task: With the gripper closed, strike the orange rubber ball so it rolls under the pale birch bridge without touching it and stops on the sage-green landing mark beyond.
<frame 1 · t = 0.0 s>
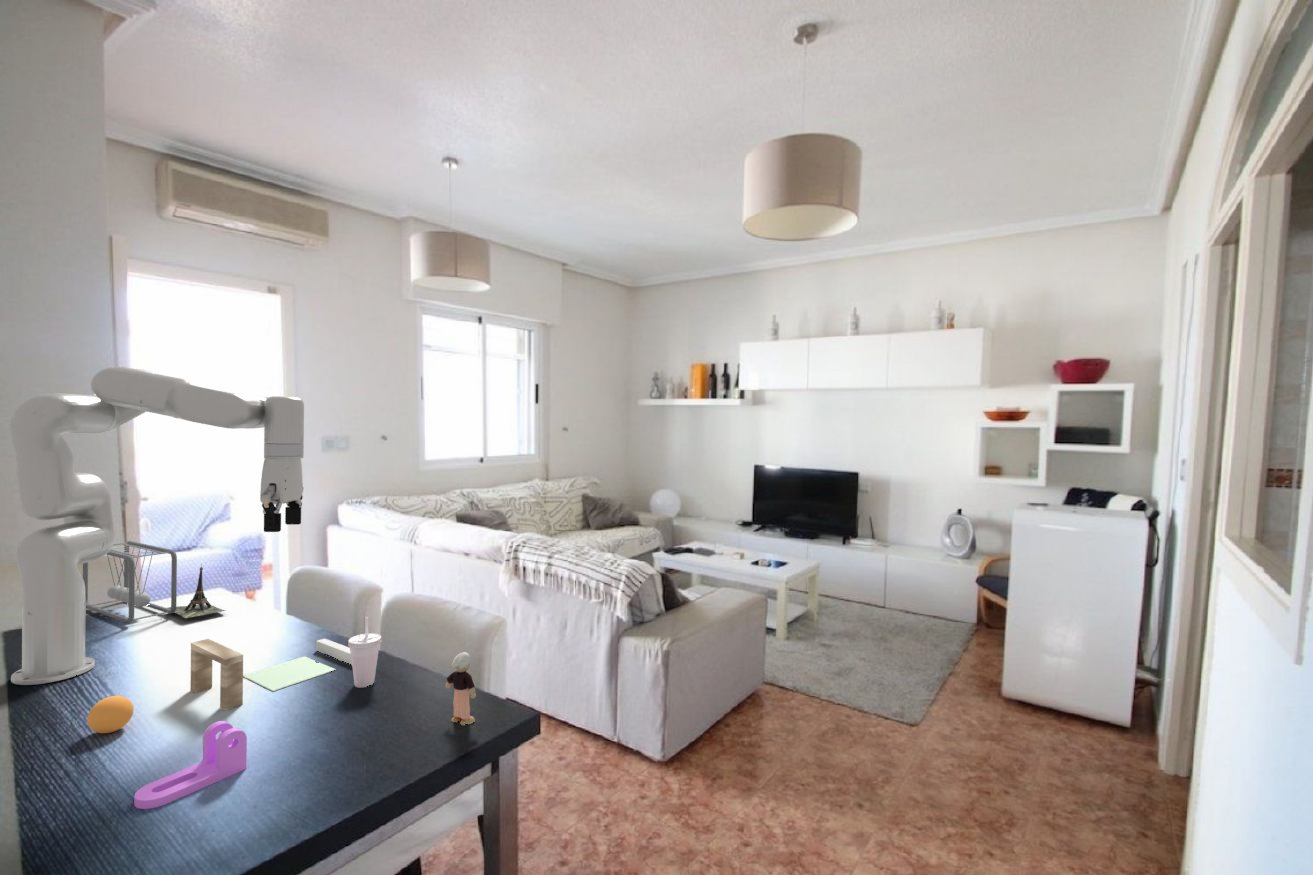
hand: (283, 527, 133), 31 cm above the table, tool pointing down, fingers open, 9 cm apart
grandmother figurine: (460, 720, 111), on the table
ball: (110, 714, 104), on the table
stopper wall: (339, 657, 139), on the table
dark piece: (195, 612, 167), point 1 cm above the table, touching newton's cradle
smoothie: (364, 684, 126), on the table
landing mark: (289, 673, 130), on the table
bridge: (215, 697, 118), on the table
bracket: (189, 786, 90), on the table
newton's cradle: (128, 611, 167), on the table, touching dark piece
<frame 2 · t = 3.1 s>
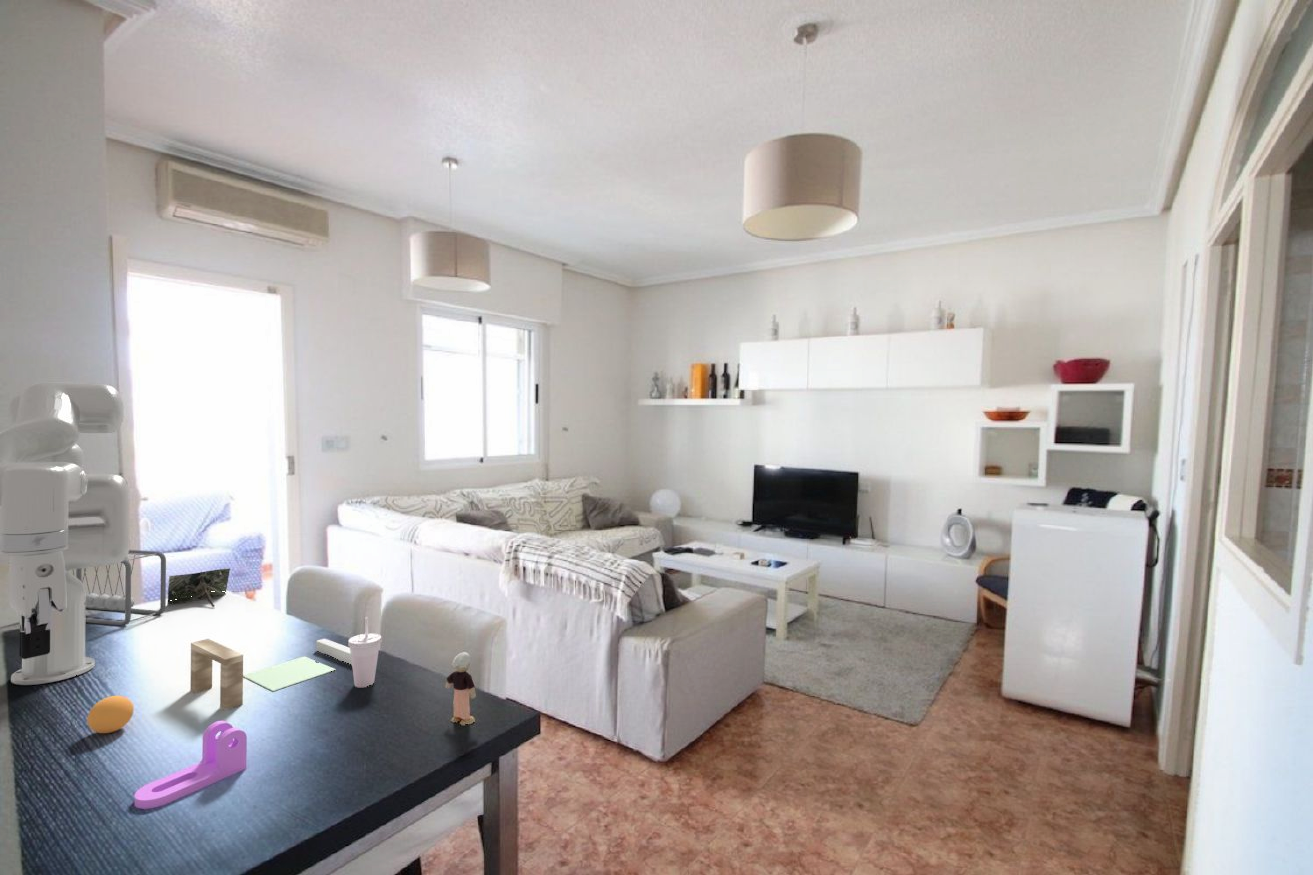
hand: (34, 655, 96), 17 cm above the table, tool pointing down, fingers closed
dark piece: (198, 584, 180), point 5 cm above the table
newton's cradle: (102, 617, 164), on the table
everything else where it was.
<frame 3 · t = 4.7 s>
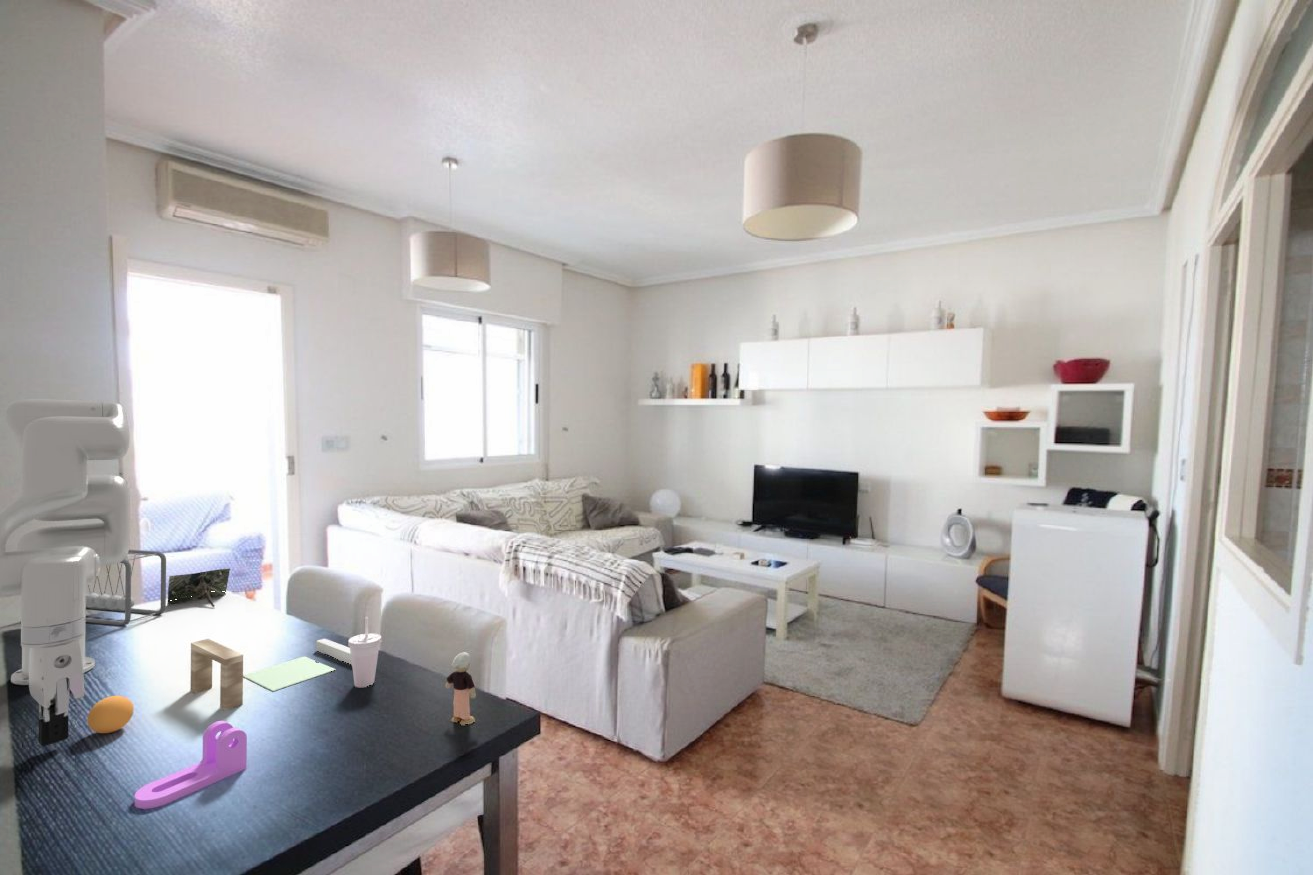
hand: (53, 740, 98), 1 cm above the table, tool pointing down, fingers closed
nothing on the table moved.
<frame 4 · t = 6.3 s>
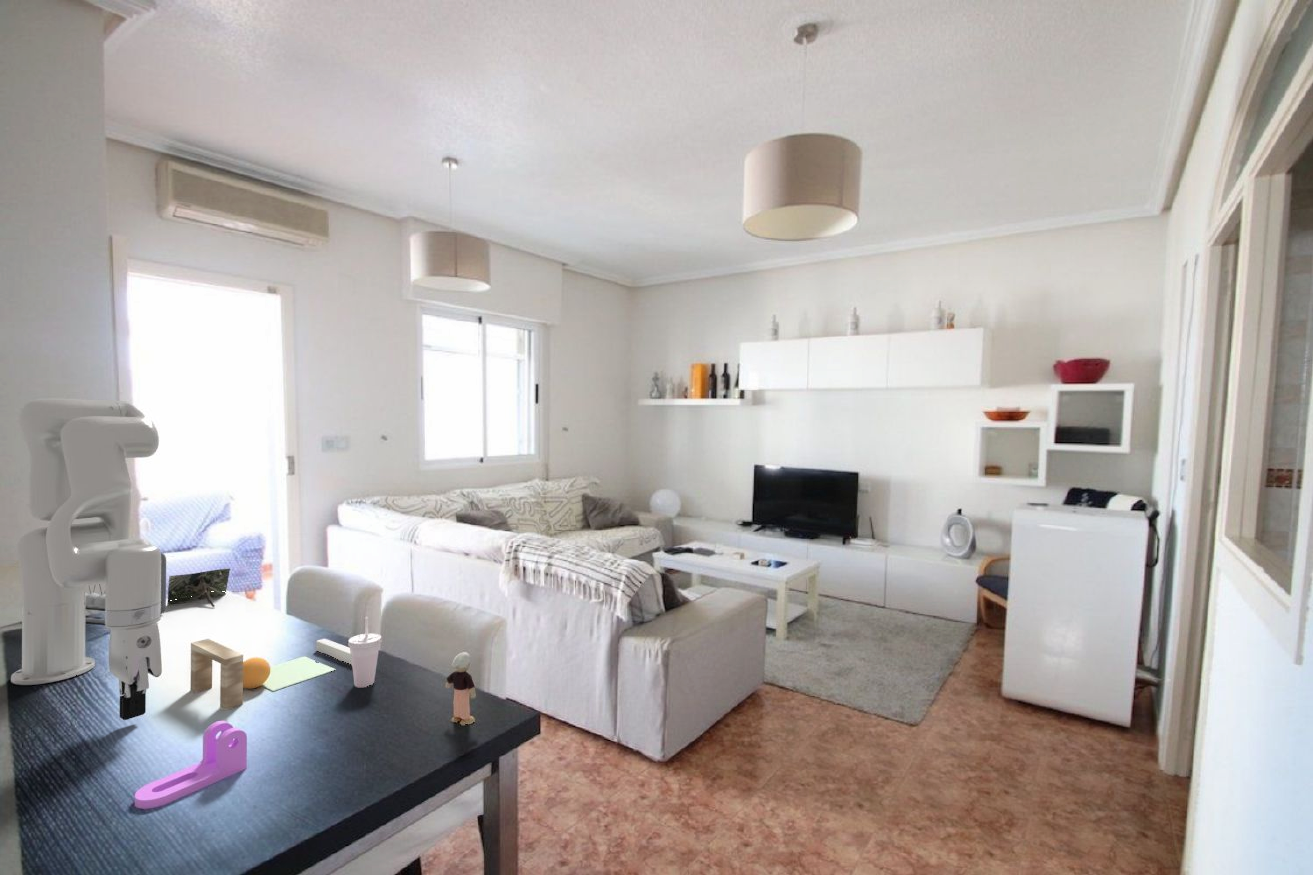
hand: (132, 715, 107), 2 cm above the table, tool pointing down, fingers closed
ball: (253, 672, 123), on the table
everything else where it was.
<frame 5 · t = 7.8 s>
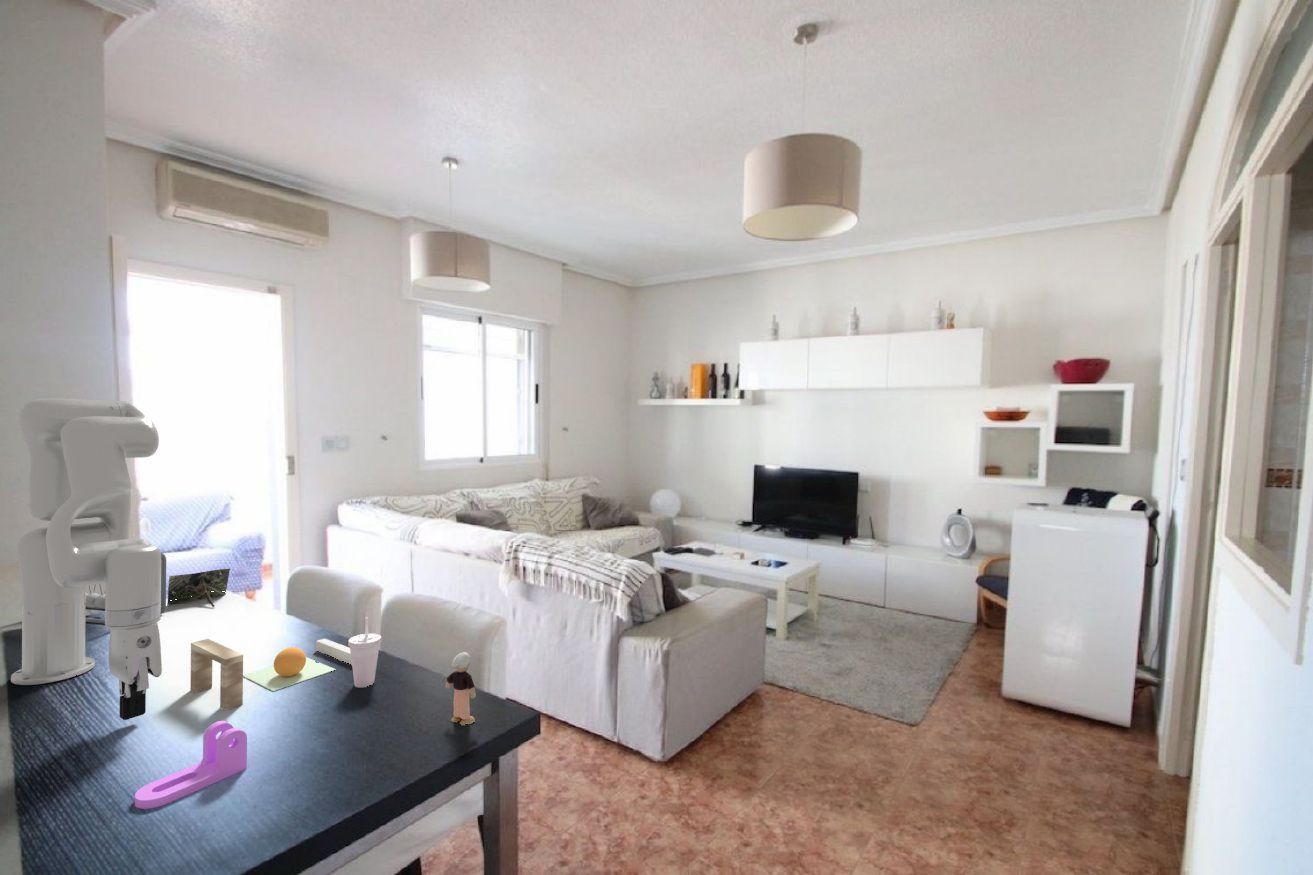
hand: (132, 715, 107), 2 cm above the table, tool pointing down, fingers closed
ball: (290, 661, 129), on the table
everything else where it was.
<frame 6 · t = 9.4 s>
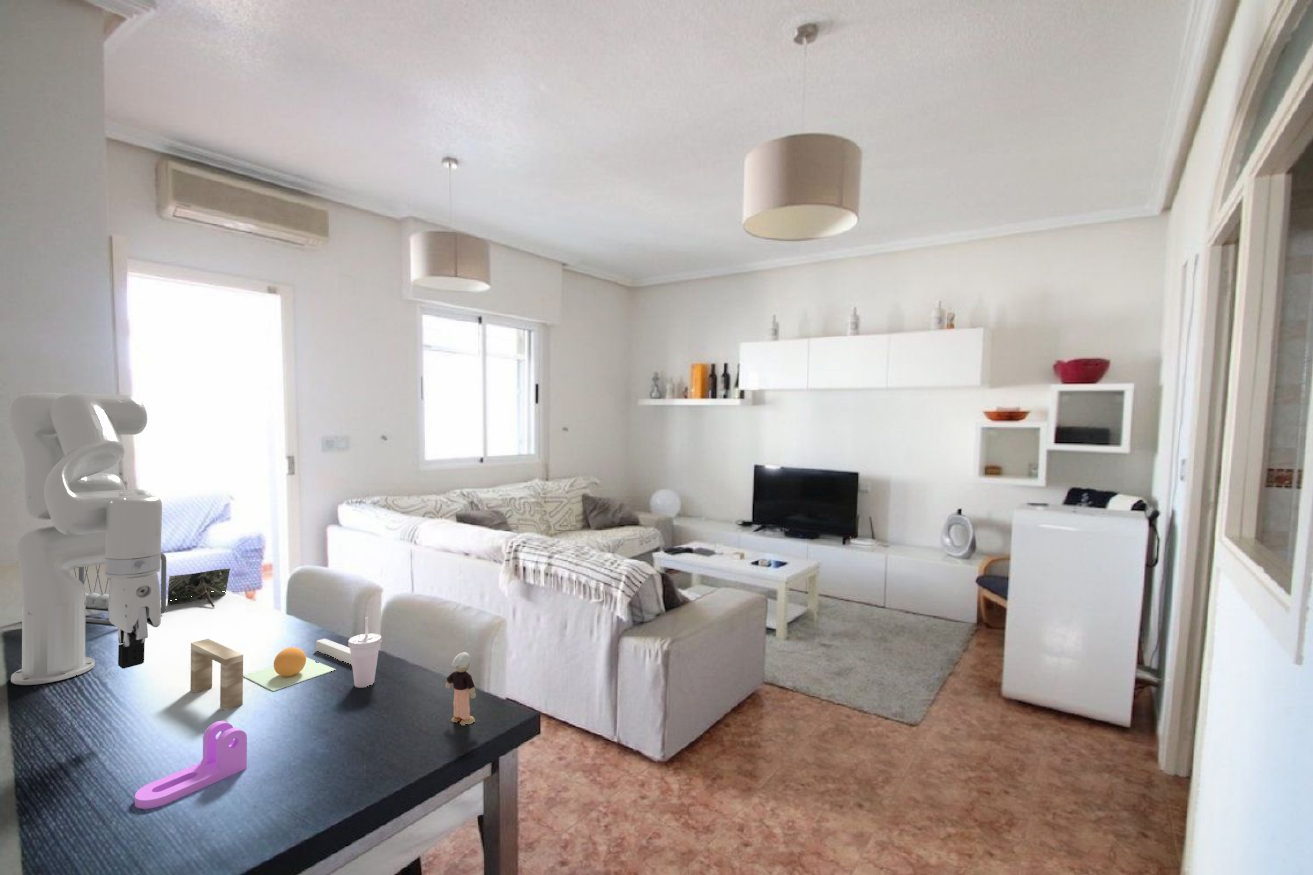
hand: (131, 664, 107), 11 cm above the table, tool pointing down, fingers closed
nothing on the table moved.
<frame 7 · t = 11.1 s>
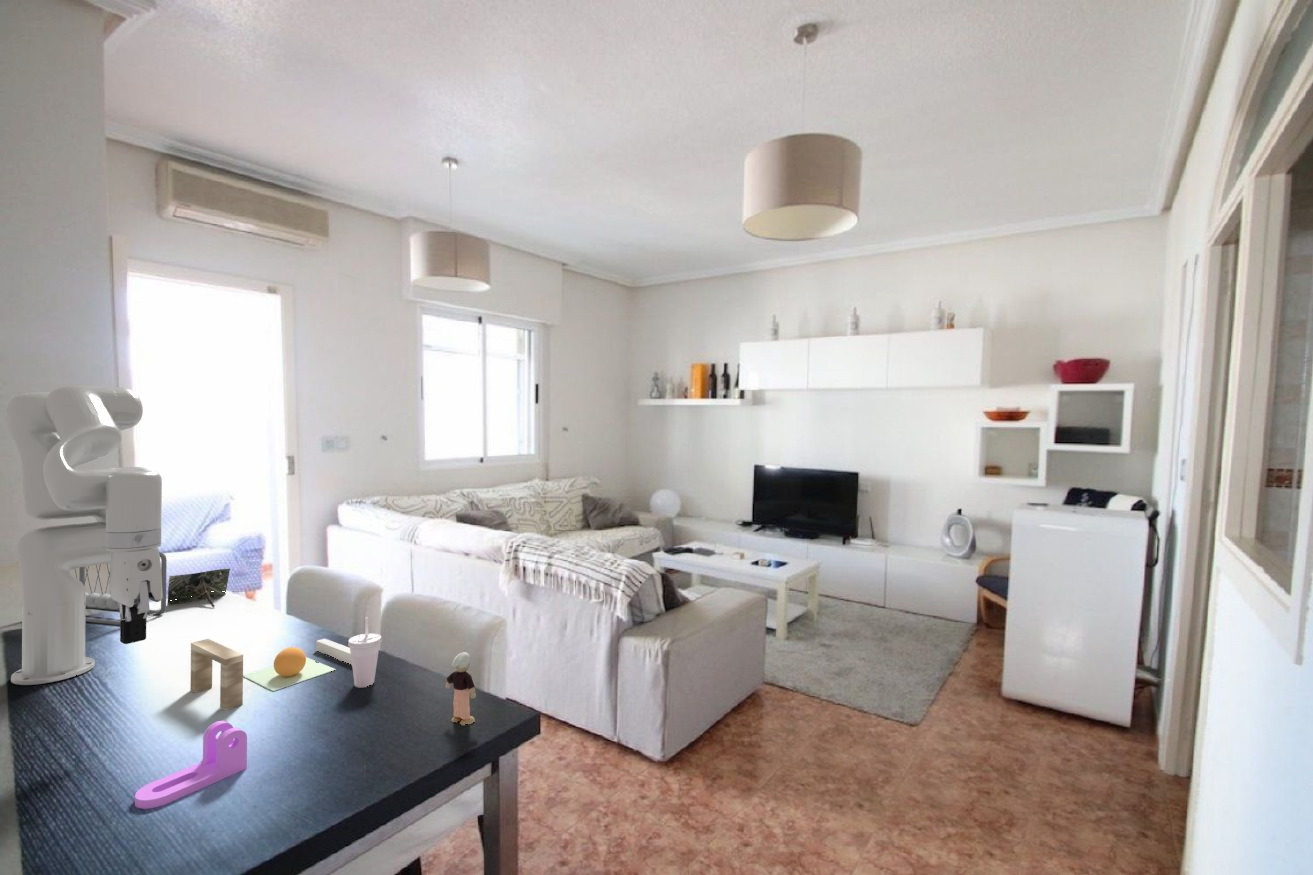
hand: (133, 640, 107), 15 cm above the table, tool pointing down, fingers closed
nothing on the table moved.
at the end: ball 1.5 cm from the landing mark (horizontally); ball never touched bridge; ball at rest at the end (0.0 cm/s) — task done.
